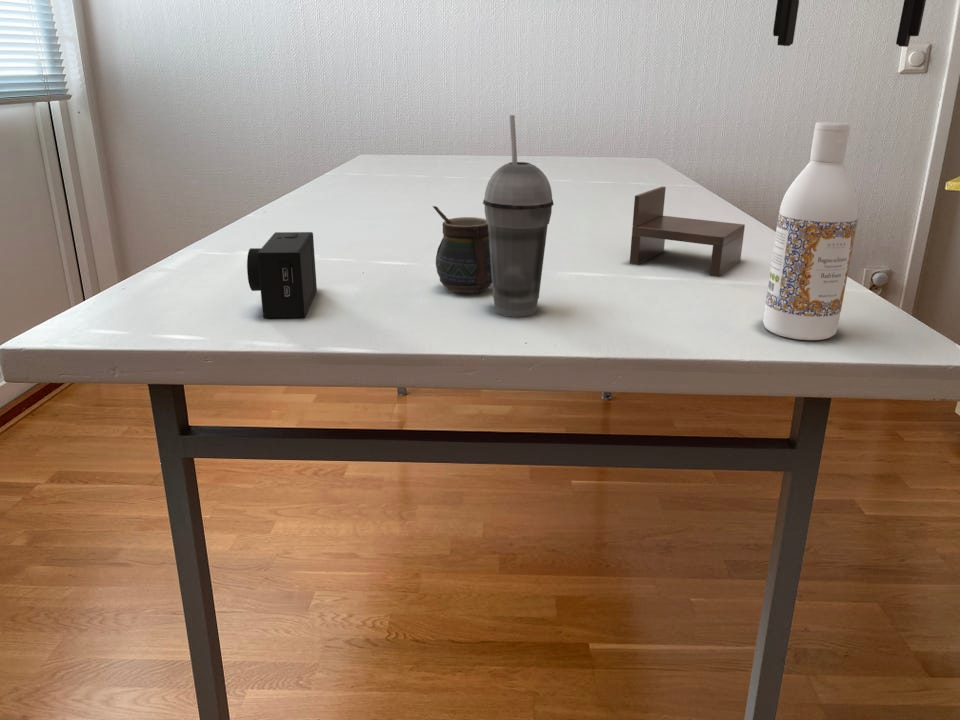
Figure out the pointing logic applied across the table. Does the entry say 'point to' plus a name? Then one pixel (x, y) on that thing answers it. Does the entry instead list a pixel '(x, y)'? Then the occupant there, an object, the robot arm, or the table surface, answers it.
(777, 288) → the bath foam
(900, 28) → the robot arm
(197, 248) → the table surface
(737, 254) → the chair
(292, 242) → the digital camera
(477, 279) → the mate gourd
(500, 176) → the beverage cup
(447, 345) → the table surface
